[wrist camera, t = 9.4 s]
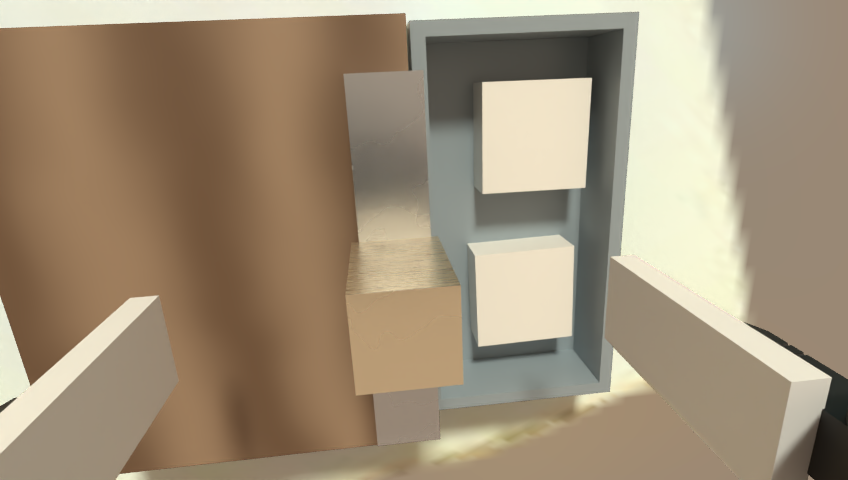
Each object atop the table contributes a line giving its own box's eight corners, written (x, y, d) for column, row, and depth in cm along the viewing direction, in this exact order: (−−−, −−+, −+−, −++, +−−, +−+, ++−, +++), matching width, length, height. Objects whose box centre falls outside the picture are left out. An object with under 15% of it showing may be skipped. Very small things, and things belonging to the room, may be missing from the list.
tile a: (571, 336, 26) (557, 319, 28) (574, 246, 24) (559, 234, 26) (478, 346, 25) (470, 328, 27) (474, 256, 24) (467, 243, 26)
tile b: (585, 187, 23) (569, 180, 25) (592, 77, 22) (574, 78, 24) (482, 193, 23) (473, 185, 25) (482, 81, 21) (473, 82, 23)
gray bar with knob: (371, 407, 22) (372, 548, 15) (339, 76, 17) (321, 67, 11) (437, 400, 22) (467, 535, 15) (422, 72, 18) (454, 61, 11)
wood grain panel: (127, 397, 27) (62, 480, 21) (33, 47, 21) (-89, 31, 16) (416, 368, 28) (428, 438, 22) (396, 32, 23) (405, 13, 17)
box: (421, 367, 28) (429, 411, 24) (402, 32, 23) (409, 20, 19) (578, 351, 29) (609, 391, 25) (595, 24, 24) (639, 12, 20)
